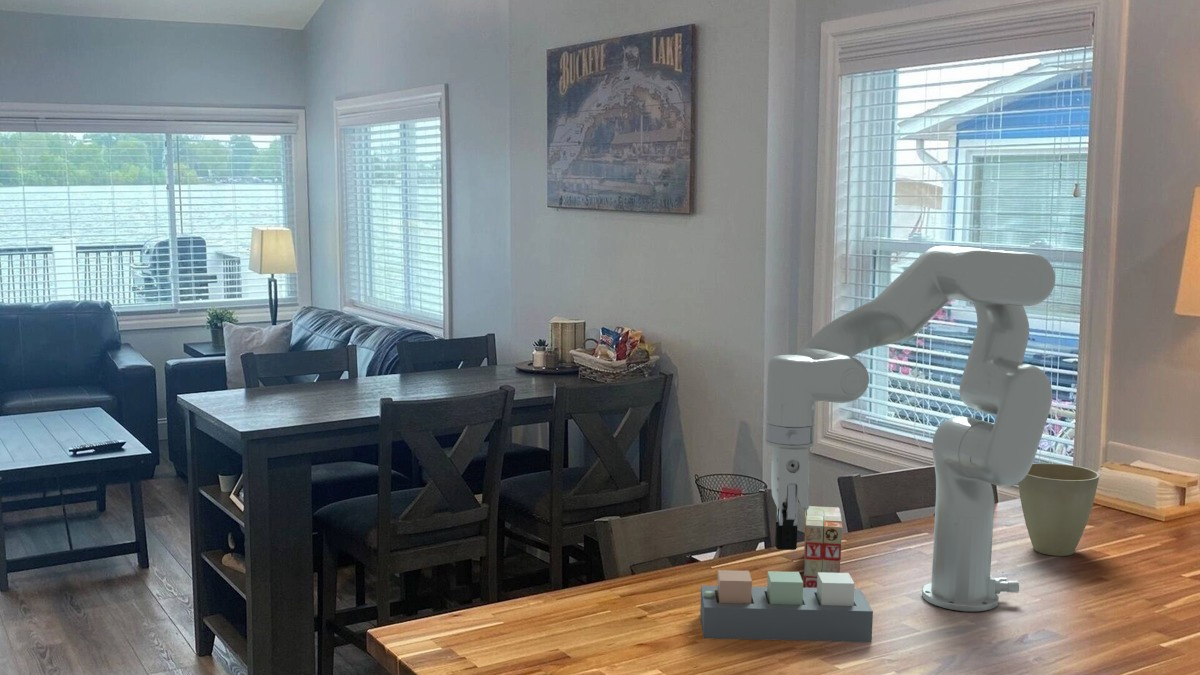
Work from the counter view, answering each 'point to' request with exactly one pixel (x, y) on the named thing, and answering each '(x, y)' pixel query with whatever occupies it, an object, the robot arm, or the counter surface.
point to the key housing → (785, 618)
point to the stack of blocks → (821, 543)
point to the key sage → (784, 588)
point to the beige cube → (734, 587)
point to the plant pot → (1057, 505)
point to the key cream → (835, 589)
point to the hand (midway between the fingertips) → (785, 547)
